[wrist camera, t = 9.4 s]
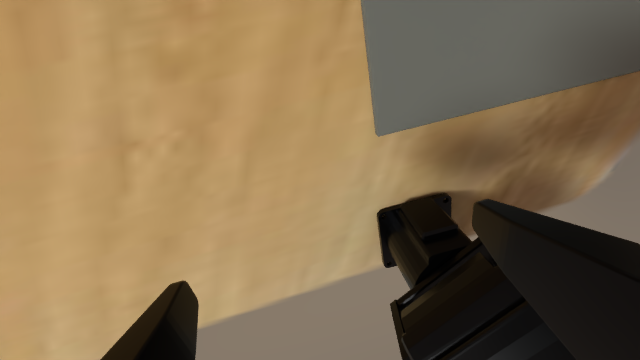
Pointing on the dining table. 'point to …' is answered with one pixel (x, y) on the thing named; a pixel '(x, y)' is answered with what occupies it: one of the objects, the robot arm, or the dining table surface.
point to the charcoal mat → (489, 53)
